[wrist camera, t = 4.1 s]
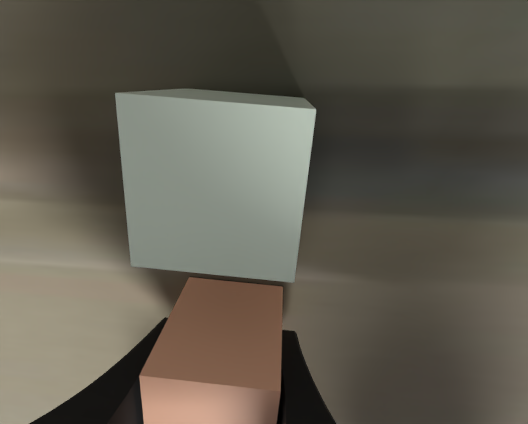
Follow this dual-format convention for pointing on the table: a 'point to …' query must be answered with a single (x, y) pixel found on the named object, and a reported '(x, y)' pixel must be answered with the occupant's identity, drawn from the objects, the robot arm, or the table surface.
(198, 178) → the sage block
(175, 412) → the terracotta block
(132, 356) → the robot arm
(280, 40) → the table surface
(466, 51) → the table surface
